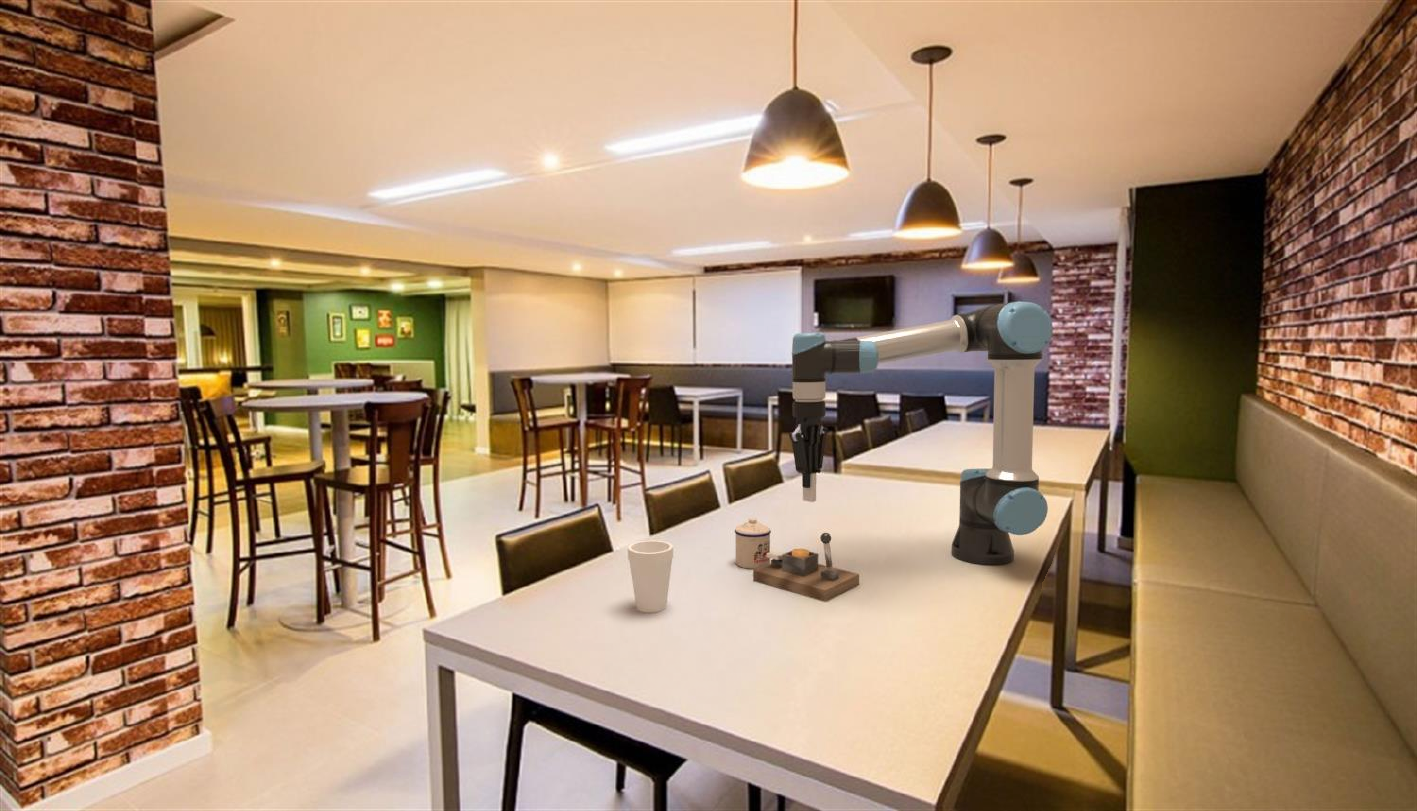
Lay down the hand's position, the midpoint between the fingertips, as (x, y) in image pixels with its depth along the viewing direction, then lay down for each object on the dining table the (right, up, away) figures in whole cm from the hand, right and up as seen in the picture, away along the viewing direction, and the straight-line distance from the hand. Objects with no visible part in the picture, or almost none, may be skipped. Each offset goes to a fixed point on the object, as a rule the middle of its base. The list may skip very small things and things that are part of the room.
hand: (809, 500), depth 161 cm
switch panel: (-1, -19, -1) cm, 19 cm away
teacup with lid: (-12, -18, +14) cm, 26 cm away
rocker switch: (-7, -14, +4) cm, 16 cm away
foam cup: (-36, -21, -15) cm, 44 cm away
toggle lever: (+4, -15, -6) cm, 16 cm away
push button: (-2, -15, 0) cm, 15 cm away
